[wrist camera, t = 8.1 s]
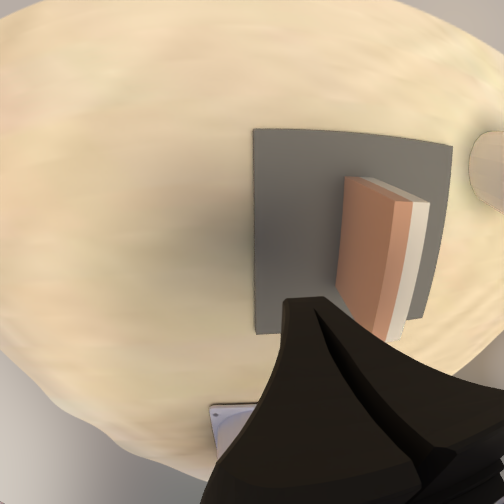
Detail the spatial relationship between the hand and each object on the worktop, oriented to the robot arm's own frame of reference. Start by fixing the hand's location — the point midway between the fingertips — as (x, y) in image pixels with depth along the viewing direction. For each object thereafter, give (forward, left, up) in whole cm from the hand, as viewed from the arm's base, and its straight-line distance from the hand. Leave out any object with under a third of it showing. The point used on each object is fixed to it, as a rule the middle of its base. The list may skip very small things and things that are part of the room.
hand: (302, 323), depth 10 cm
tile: (0, -5, -8) cm, 10 cm away
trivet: (-1, -5, -9) cm, 11 cm away
